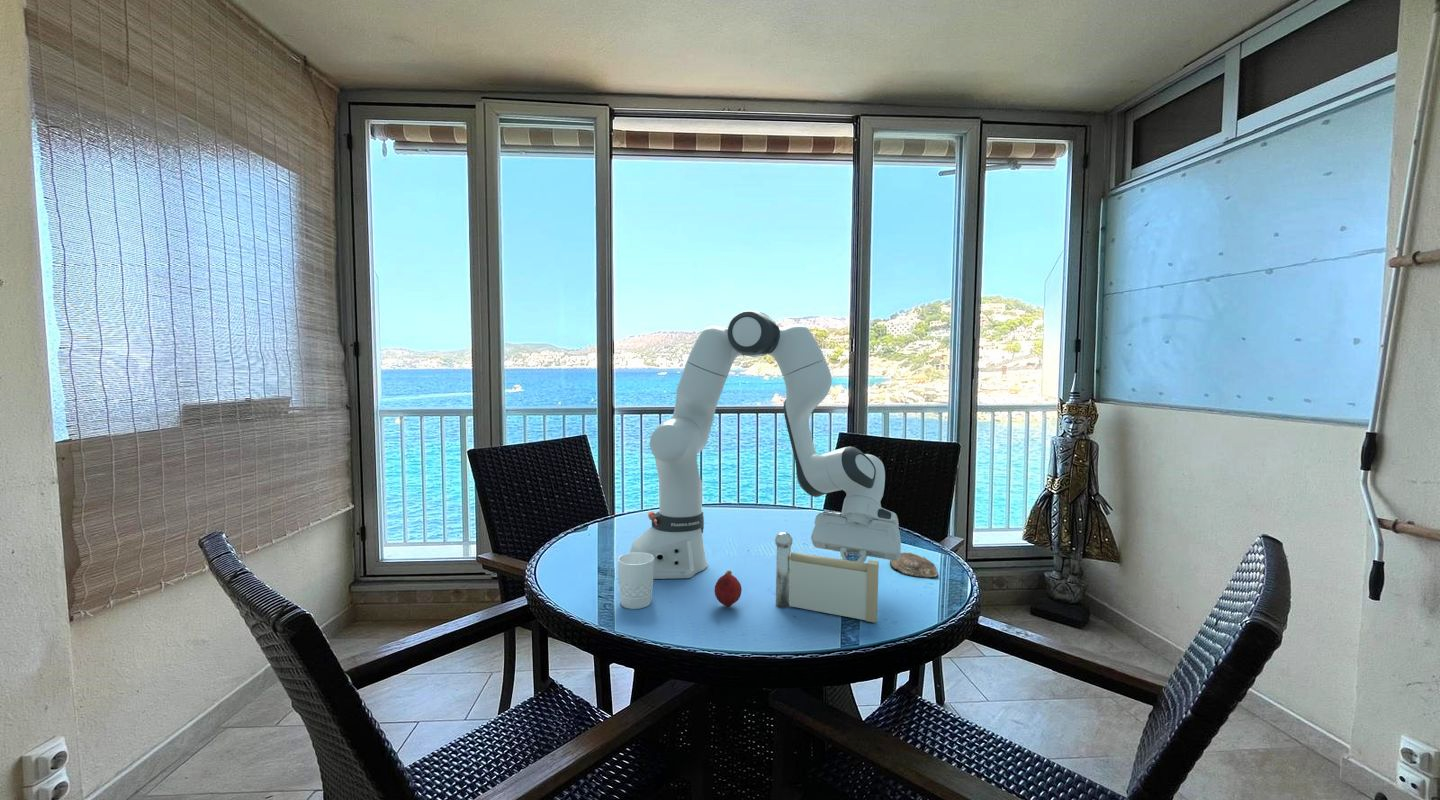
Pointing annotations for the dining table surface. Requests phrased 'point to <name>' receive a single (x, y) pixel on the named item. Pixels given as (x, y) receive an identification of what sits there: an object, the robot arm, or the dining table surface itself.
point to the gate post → (783, 569)
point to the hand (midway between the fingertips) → (850, 569)
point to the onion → (727, 589)
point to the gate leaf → (834, 586)
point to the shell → (914, 566)
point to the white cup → (636, 579)
